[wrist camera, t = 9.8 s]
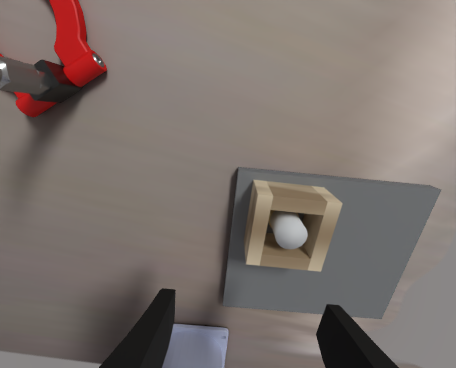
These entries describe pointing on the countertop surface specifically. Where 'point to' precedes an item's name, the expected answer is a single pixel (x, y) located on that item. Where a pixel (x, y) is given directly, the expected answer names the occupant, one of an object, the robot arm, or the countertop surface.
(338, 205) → the collar
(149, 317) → the robot arm
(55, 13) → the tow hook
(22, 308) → the countertop surface
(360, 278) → the post mat
